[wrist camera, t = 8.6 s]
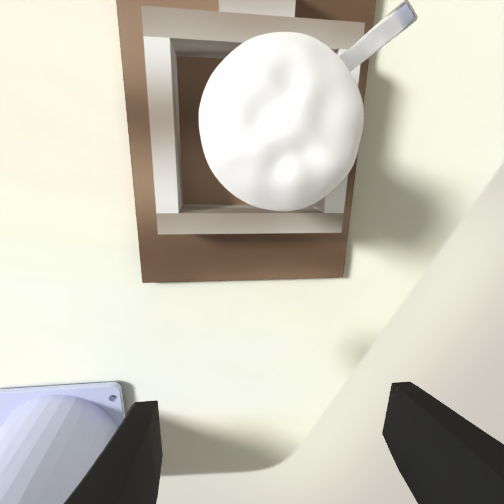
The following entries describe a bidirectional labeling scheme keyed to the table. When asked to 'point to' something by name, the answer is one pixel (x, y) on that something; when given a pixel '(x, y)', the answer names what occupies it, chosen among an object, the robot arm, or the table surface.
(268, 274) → the pocket plate
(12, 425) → the robot arm
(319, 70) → the milkshake
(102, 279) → the table surface
